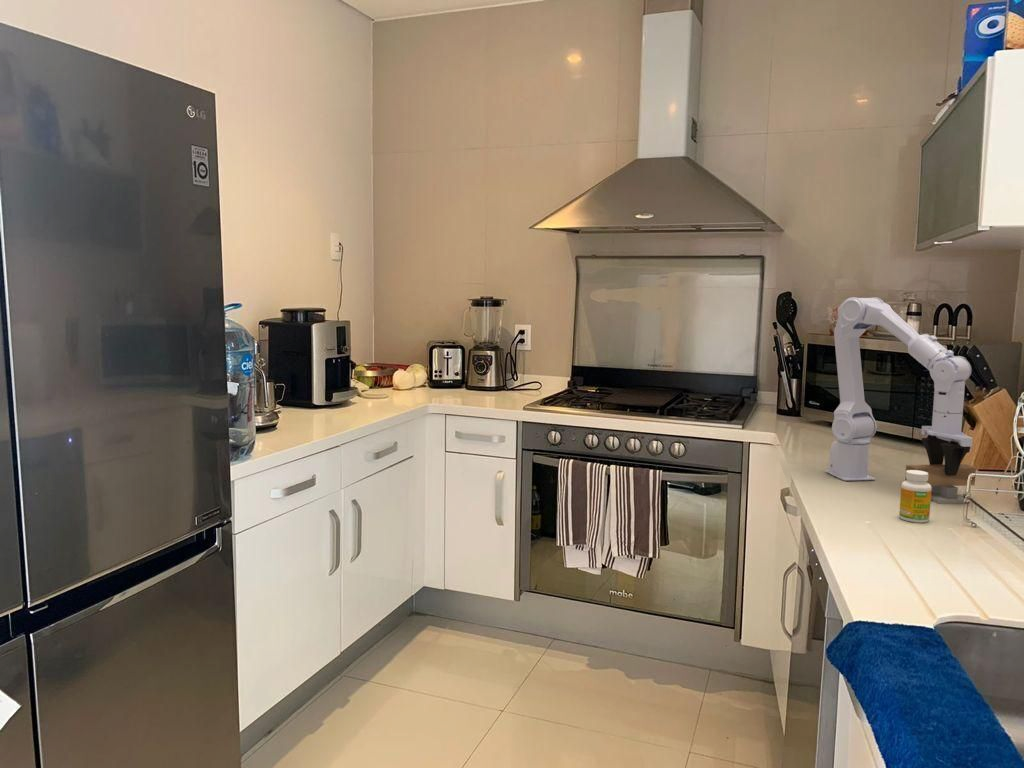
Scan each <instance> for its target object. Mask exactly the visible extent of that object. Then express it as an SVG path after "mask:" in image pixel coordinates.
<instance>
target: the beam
mask: <svg viewBox="0 0 1024 768" xmlns="http://www.w3.org/2000/svg"><path fill="white" fill-rule="evenodd" d="M907 470H919V471H924V472H927V473H928V481H927V483H928V484H930V485H931V486H954V487H961V486H962V487H963V486H966V487H967V479H968V475H969V474H970V473H976V472H977V468H976V467H975V466H973V465H969V464H966V463H961V464H960V467H959V469H958V472H957V474H956V476H947V475H946V474H945V463H943V464H942V465H930V464H906V465H905V472H906V471H907ZM904 474H905V476H904V478H905V480H904V481H906V480H907V478H906V473H904ZM975 485H976V475H975V476H974V477H972V480H971V486H975ZM971 486H970V487H971Z"/></svg>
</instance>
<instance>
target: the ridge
mask: <svg viewBox="0 0 1024 768" xmlns="http://www.w3.org/2000/svg"><path fill="white" fill-rule="evenodd" d="M958 490H959V487H958V486H931V501H932V502H934V503H937V504H938V505H940V504H942V505H946V504H952V505H953V504H965V503H964V498H963V497H964V496H963V495H960V494H958Z"/></svg>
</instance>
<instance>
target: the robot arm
mask: <svg viewBox="0 0 1024 768" xmlns="http://www.w3.org/2000/svg"><path fill="white" fill-rule="evenodd" d="M873 326H880V327H882V328H884V329H885V330H886V331H887V332H889V333H890V334H892V335H893V336H894V337H895V338H896V339H899V340H900V341H901V342H902V343H904V344H905V345H907V353H908V354H909V355H910V356H911V357H913V358H914V359H915V361H917V362H918V363H919V364H921V365H922V366H923V367H925V369H927V370H928V371H929V375H930V377H931V379H932V380H933V381H932V382H933V384H934V385H933V388H934V392H933V406H932V418H931V419H932V420H931V425H921V432H920V433H921V435H923V436H926V437H922V438H921V442H922V444H923V446H924V449H925V451H926V454H927V459H928V463H929V464H928V465H942V464H945V474H946V475H947V476H956V474H957V472H958V469H959V467H960V464H962V462H963V460H964V458H965V456H966V455H967V453H968V452H969V451H970V450H971V447H973V437H971V436H969V435H967V434H966V433H964V432H962V425H963V416H964V415H963V414H964V405H965V389H966V387H965V385H966V381H967V380H968V379H969V378H970V376H971V375H972V365H971V364H970V362H969V361H968V360H967V358H966V357H964V356H961V355H956V356H955V355H954V353H955V352H954V351H953V350H951V349H949V350H948V349H947V348H946V347H945V346H943V345H942V344H941V343H940V342H938V341H937V340H938V338H937V336H935V335H933V334H932V335H930V334H928V333H925V334H919V333H918V332H917V331H916V330H915V329H914V328H913V327H912V326H910V325H909V324H908V323H907V322H906V321H905V320H904V319H903V318H902V317H901V316H900V315H899V314H898V313H897V312H895V311H894V310H893V309H892V307H891V305H890V304H888V303H887V302H885V301H884V300H883V299H882V298H880V297H873V296H872V297H856V296H855V297H854V296H853V297H849V298H846V299H845V300H844V301H843V302H842V303H841V304H840V305H839V307H837V320H836V325H835V327H834V330H833V339H834V347H835V358H836V359H835V360H836V369H837V370H836V371H837V379H838V391H839V392H838V393H839V404H838V406H837V407H836V409H835V410H834V411H833V421H832V423H831V424H832V425H831V432H832V434H833V436H834V438H835V440H834V441H833V442H832V443H831V446H830V449H829V464H828V465H829V466H828V467H829V468H828V469H825V473H827V474H829V475H832V476H834V477H836V478H838V479H840V480H842V481H845V482H846V481H847V482H848V481H850V482H851V481H875V480H876V478H875V477H873V476H871V475H869V474H868V473H869V469H868V468H869V458H870V442H871V440H872V437H874V436H875V434H876V432H877V427H878V425H877V421H876V419H875V418H874V415H873V411H872V407H871V406H870V405H869V404H868V403H867V402H866V400H865V391H864V390H865V389H864V380H863V371H862V370H863V369H862V358H861V349H860V337H861V336H862V335H863V334H864V333H865V332H866V331H867V330H869V328H871V327H873Z"/></svg>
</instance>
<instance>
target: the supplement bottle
mask: <svg viewBox="0 0 1024 768" xmlns="http://www.w3.org/2000/svg"><path fill="white" fill-rule="evenodd" d="M905 474H906V478H907V480H906V481H905V480H904V481H902V482H901V486H900V499H899V502H900V503H899V511H898V512H899V514H898V516H899V519H902V521H906V522H911V523H917V524H922V523H923V524H924V523H927V522H929V521H930V514H931V503H932V502H931V501H932V500H931V485H930V484H928V483H927V481H928V473H927V472H924V471H919V470H907V471H906V470H905Z"/></svg>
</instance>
